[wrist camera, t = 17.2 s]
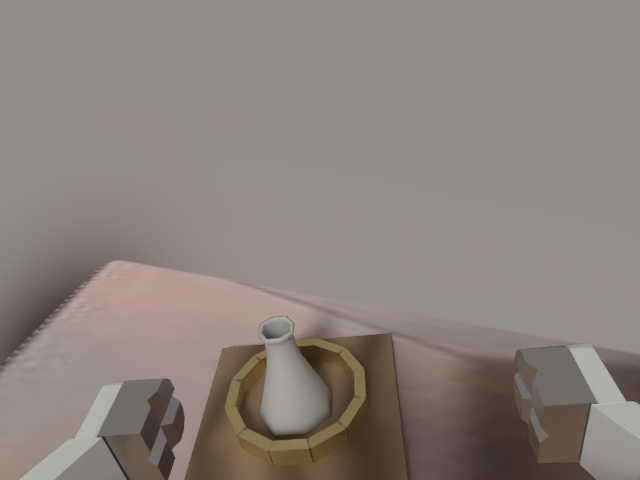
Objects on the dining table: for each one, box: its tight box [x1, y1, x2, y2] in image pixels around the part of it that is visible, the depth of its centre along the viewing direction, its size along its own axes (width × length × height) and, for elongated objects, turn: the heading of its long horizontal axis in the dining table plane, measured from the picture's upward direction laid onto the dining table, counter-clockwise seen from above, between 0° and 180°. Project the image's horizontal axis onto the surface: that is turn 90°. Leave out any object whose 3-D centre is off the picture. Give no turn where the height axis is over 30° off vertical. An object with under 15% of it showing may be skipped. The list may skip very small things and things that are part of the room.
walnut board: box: [185, 333, 408, 480], centre depth 48 cm, size 19×17×1 cm
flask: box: [258, 316, 332, 436], centre depth 45 cm, size 7×7×10 cm
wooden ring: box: [225, 338, 368, 466], centre depth 47 cm, size 13×13×2 cm
